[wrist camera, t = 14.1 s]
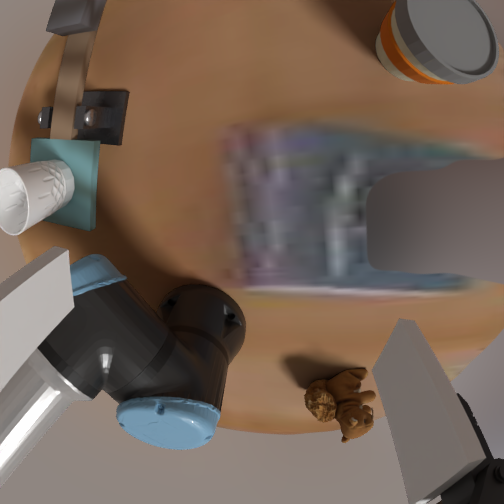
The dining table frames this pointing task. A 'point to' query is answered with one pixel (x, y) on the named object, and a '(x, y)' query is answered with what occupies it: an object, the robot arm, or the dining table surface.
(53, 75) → the dining table surface
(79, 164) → the balance beam
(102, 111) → the beam stand
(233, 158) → the dining table surface
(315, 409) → the stuffed squirrel
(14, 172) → the white cup
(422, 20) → the reusable coffee cup
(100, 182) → the dining table surface
